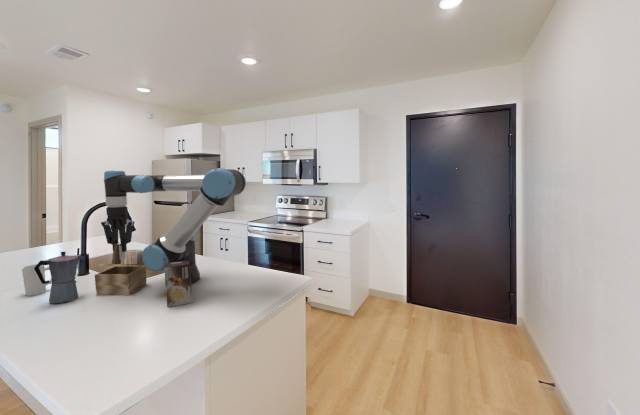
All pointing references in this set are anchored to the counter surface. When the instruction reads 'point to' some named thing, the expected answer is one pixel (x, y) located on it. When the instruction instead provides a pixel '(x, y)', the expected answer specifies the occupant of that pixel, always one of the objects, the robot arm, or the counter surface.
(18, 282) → the counter surface
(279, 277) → the counter surface
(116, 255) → the flap
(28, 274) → the mug
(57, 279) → the moka pot
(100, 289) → the carton
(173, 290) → the coffee box
